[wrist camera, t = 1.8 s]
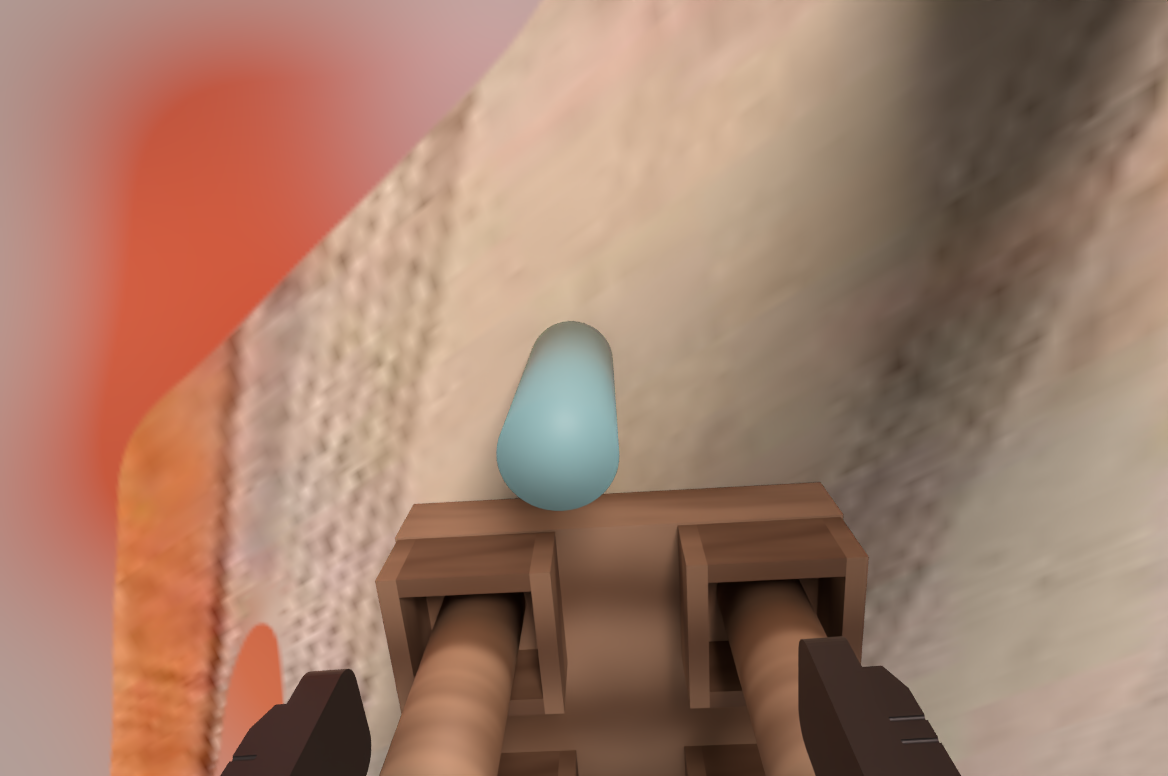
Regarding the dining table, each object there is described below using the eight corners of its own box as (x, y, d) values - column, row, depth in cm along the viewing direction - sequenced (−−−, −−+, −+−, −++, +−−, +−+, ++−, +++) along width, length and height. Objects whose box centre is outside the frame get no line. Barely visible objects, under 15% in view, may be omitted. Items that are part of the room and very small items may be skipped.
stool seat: (413, 504, 31) (291, 723, 19) (820, 482, 30) (972, 696, 18) (465, 805, 37) (398, 1121, 25) (806, 793, 36) (913, 1115, 24)
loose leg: (526, 324, 28) (489, 402, 19) (610, 318, 28) (615, 394, 19) (534, 402, 29) (503, 513, 20) (615, 397, 29) (622, 507, 20)
